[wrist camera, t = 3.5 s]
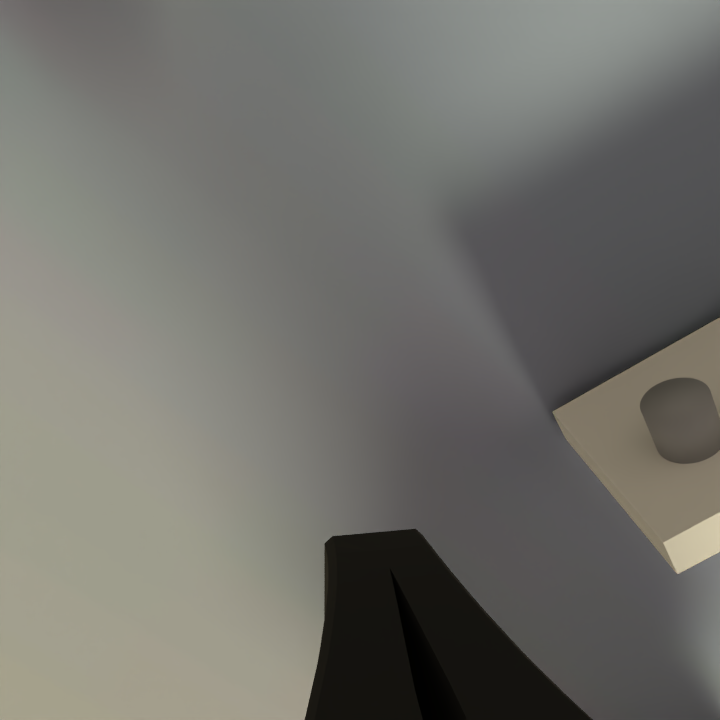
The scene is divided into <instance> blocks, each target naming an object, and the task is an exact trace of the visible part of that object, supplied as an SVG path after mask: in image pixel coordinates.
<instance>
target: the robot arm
mask: <svg viewBox="0 0 720 720" xmlns="http://www.w3.org/2000/svg"><path fill="white" fill-rule="evenodd" d="M305 720H593V719H591V718H590V717H589V716H588V715H587V714H586V713H585V712H584V711H583V710H581V709H580V708H579V707H578V706H577V705H576V704H575V703H574V702H573V701H572V700H571V699H570V698H569V697H568V696H567V695H566V694H564V693H563V692H562V691H561V690H560V689H559V688H558V687H557V686H556V685H555V684H554V683H553V682H552V681H551V680H550V679H549V678H548V677H547V676H546V675H545V674H544V673H543V672H542V671H541V670H540V669H539V668H538V667H537V666H536V665H535V664H534V663H533V662H532V661H531V660H530V659H529V658H528V657H527V656H526V655H525V654H524V653H523V652H522V651H521V650H520V649H519V648H518V646H517V645H516V644H515V643H514V642H513V641H512V640H511V639H510V638H509V637H508V636H507V635H506V634H505V632H504V631H503V630H502V629H501V628H500V627H499V626H498V625H497V624H496V623H495V622H494V620H493V619H492V618H491V617H490V616H489V615H488V614H487V613H486V612H485V611H484V609H483V608H482V607H481V606H480V605H479V604H478V603H477V601H476V600H475V599H474V598H473V597H472V596H471V595H470V593H469V592H468V591H467V590H466V589H465V587H464V586H463V585H462V584H461V583H460V581H459V580H458V579H457V578H456V577H455V576H454V574H453V573H452V572H451V571H450V569H449V568H448V567H447V566H446V564H445V563H444V562H443V561H442V559H441V558H440V557H439V556H438V554H437V553H436V552H435V551H434V549H433V548H432V547H431V546H430V544H429V543H428V542H427V540H426V539H425V538H424V536H423V535H422V534H421V533H420V532H418V531H417V530H416V529H409V530H398V531H387V532H376V533H365V534H353V535H342V536H333V537H331V538H330V539H329V540H328V541H327V542H326V543H325V621H324V627H323V634H322V640H321V647H320V653H319V659H318V664H317V669H316V673H315V678H314V682H313V686H312V691H311V695H310V699H309V704H308V708H307V712H306V717H305Z"/></svg>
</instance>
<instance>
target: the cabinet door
mask: <svg viewBox="0 0 720 720" xmlns="http://www.w3.org/2000/svg"><path fill="white" fill-rule="evenodd" d="M552 413H553V415H554V417H555V419H556V421H557V423H558V425H559V427H560V429H561V431H562V433H563V435H564V437H565V439H566V440H567V441H568V442H569V443H570V445H571V446H572V447H573V448H574V450H575V451H576V452H577V453H578V454H579V456H580V457H581V458H582V459H583V460H584V462H585V463H586V464H587V465H588V467H589V468H590V469H591V470H592V471H593V473H594V474H595V475H596V476H597V477H598V479H599V480H600V481H601V482H602V483H603V485H604V486H605V487H606V488H607V490H608V491H609V492H610V493H611V494H612V496H613V497H614V498H615V499H616V500H617V502H618V503H619V504H620V505H621V506H622V508H623V509H624V510H625V511H626V513H627V514H628V515H629V516H630V517H631V519H632V520H633V521H634V522H635V523H636V525H637V526H638V527H639V528H640V530H641V531H642V532H643V533H644V534H645V536H646V537H647V538H648V539H649V540H650V542H651V543H652V544H653V545H654V546H655V548H656V549H657V550H658V551H659V553H660V554H661V555H662V556H663V557H664V559H665V560H666V561H667V562H668V563H669V565H670V566H671V567H672V568H673V570H674V571H675V572H676V573H677V574H679V573H681V572H683V571H685V570H687V569H688V568H690V567H692V566H694V565H696V564H698V563H700V562H702V561H703V560H705V559H707V558H709V557H711V556H713V555H715V554H717V553H718V552H720V317H719V318H718V319H716V320H714V321H712V322H710V323H709V324H707V325H705V326H703V327H702V328H700V329H698V330H696V331H695V332H693V333H691V334H689V335H687V336H686V337H684V338H682V339H680V340H679V341H677V342H675V343H673V344H671V345H670V346H668V347H666V348H664V349H663V350H661V351H659V352H657V353H655V354H654V355H652V356H650V357H648V358H647V359H645V360H643V361H641V362H640V363H638V364H636V365H634V366H632V367H631V368H629V369H627V370H625V371H624V372H622V373H620V374H618V375H616V376H615V377H613V378H611V379H609V380H608V381H606V382H604V383H602V384H601V385H599V386H597V387H595V388H593V389H592V390H590V391H588V392H586V393H585V394H583V395H581V396H579V397H577V398H576V399H574V400H572V401H570V402H569V403H567V404H565V405H563V406H561V407H560V408H558V409H556V410H554V411H553V412H552Z"/></svg>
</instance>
